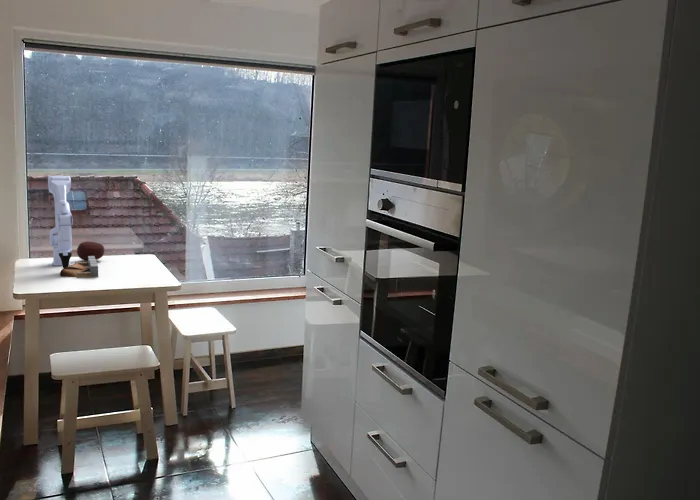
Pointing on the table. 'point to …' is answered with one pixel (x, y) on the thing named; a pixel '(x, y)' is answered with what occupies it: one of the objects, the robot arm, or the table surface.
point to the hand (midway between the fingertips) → (65, 268)
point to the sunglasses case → (73, 270)
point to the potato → (90, 250)
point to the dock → (92, 268)
